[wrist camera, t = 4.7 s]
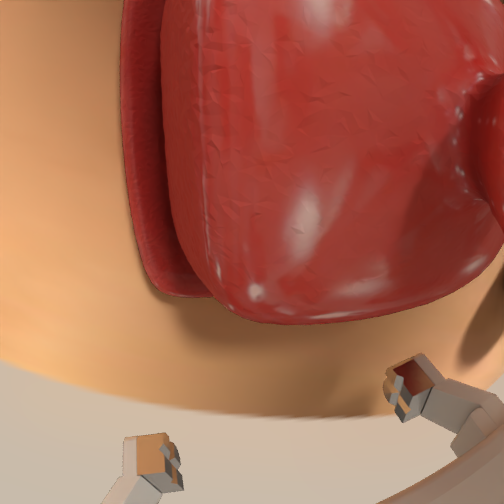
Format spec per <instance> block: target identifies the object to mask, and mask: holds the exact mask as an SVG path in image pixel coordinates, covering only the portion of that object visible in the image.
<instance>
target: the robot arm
mask: <svg viewBox="0 0 504 504" xmlns="http://www.w3.org/2000/svg"><path fill="white" fill-rule="evenodd" d="M386 376H387V378H386V379H385V381H384V383H383V391H384V395H385V397H386V399H387V400H388V402H389V403H391V404H393V405H395V413H396V414H397V416H398V417H399V419H400V420H401V422H402V423H404V422H406V421H408V420H410V419H412V418H415V417H417V416H419V415H421V416H422V417H425V418H426V419H428V420H430V421H432V422H434V423H436V424H438V425H440V426H442V427H444V428H446V429H448V430H450V431H452V432H454V433H456V434H457V435H456V437H455V438H454V440H453V441H452V443H451V446H450V447H451V448H452V450H453V451H454V453H455V454H456V456H457V457H458V458H457V459H455V460H454V461H452V462H451V463H449V464H448V465H446V466H445V467H443V468H442V469H440V470H438V471H437V472H435V473H433V474H432V475H430V476H428V477H426V478H425V479H423V480H421V481H420V482H418V483H416V484H414V485H412V486H411V487H408V488H407V489H405V490H403V491H401V492H399V493H397V494H395V495H393V496H391V497H389V498H387V499H385V500H383V501H380V502H379V503H376V504H504V404H503V403H502V401H501V400H500V399H499V398H498V397H497V395H496V394H493V393H490V392H487V391H484V390H481V389H478V388H475V387H472V386H470V385H467V384H464V383H461V382H458V381H455V380H452V379H450V378H448V379H445V378H444V377H443V376H442V375H441V373H440V372H439V371H438V370H437V369H436V368H435V366H434V365H433V364H432V363H431V362H430V361H429V359H428V358H427V357H426V356H425V355H424V354H422V353H419V354H417V355H415V356H413V357H410V358H408V359H406V360H404V361H401V362H399V363H397V364H395V365H393V366H391V367H389V368H388V369H387V370H386ZM180 465H181V464H180V457H179V453H178V450H177V448H176V446H175V445H174V443H172V442H170V441H169V436H168V435H167V434H166V433H158V434H151V435H143V436H133V437H125V439H124V442H123V476H122V477H119V478H118V480H117V481H116V482H115V484H114V486H113V487H112V488H111V490H110V491H109V493H108V494H107V496H106V497H105V499H104V500H103V502H102V503H101V504H158V503H159V501H160V499H161V497H162V493H168V492H176V491H182V490H184V488H183V480H182V475H181V474H180V473H179V471H178V468H179V467H180Z"/></svg>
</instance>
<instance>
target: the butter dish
mask: <svg viewBox="0 0 504 504" xmlns="http://www.w3.org/2000/svg"><path fill="white" fill-rule="evenodd" d="M120 49H121V55H120V97H121V101H120V104H121V124H122V138H123V151H124V162H125V173H126V182H127V188H128V195H129V204H130V208H131V216H132V220H133V225H134V232H135V236H136V240H137V243H138V249H139V252H140V256H141V259H142V262H143V266H144V268H145V271H146V273H147V275H148V277H149V279H150V281H151V283H152V284H153V285H154V286H155V287H156V288H157V289H158V290H160V291H161V292H163V293H165V294H167V295H172V296H177V297H187V298H192V297H194V298H200V297H213V296H214V297H215V299H217V300H218V301H219V302H220V303H221V304H222V305H223V306H224V307H225V308H227V309H228V310H229V311H231V312H233V313H235V314H237V315H239V316H241V317H242V318H245V319H248V320H252V321H255V322H259V323H271V324H279V325H312V324H327V323H338V322H346V321H354V320H362V319H366V318H373V317H379V316H383V315H388V314H392V313H396V312H400V311H403V310H407V309H411V308H414V307H417V306H421V305H425V304H428V303H430V302H433V301H435V300H437V299H439V298H442V297H444V296H446V295H448V294H450V293H453V292H455V291H456V290H458V289H460V288H461V287H463V286H465V285H466V284H468V283H469V282H471V281H472V280H473V279H475V278H476V277H477V276H479V275H480V274H481V273H482V272H483V271H484V270H485V269H486V268H487V267H488V266H489V265H490V263H491V262H492V261H493V260H494V258H495V257H496V255H497V254H498V252H499V250H500V249H501V247H502V245H503V243H504V5H503V4H502V3H501V1H500V0H124V7H123V14H122V22H121V44H120Z"/></svg>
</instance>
